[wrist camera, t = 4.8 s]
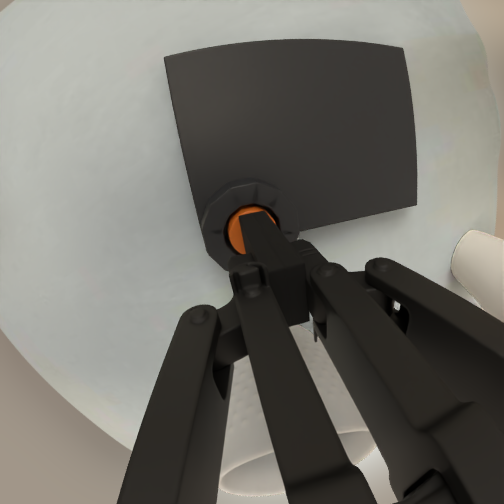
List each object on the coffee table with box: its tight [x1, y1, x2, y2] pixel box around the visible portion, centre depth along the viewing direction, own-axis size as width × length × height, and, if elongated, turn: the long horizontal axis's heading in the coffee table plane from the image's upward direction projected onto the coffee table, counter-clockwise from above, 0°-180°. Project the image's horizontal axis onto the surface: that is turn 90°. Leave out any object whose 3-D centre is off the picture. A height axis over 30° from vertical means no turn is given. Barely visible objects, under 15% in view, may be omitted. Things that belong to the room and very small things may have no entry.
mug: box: [218, 325, 377, 496], centre depth 20 cm, size 15×11×13 cm
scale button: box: [227, 204, 276, 254], centre depth 17 cm, size 3×3×2 cm
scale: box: [164, 39, 417, 271], centre depth 17 cm, size 17×14×4 cm
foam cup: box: [451, 230, 504, 323], centre depth 20 cm, size 10×9×13 cm
